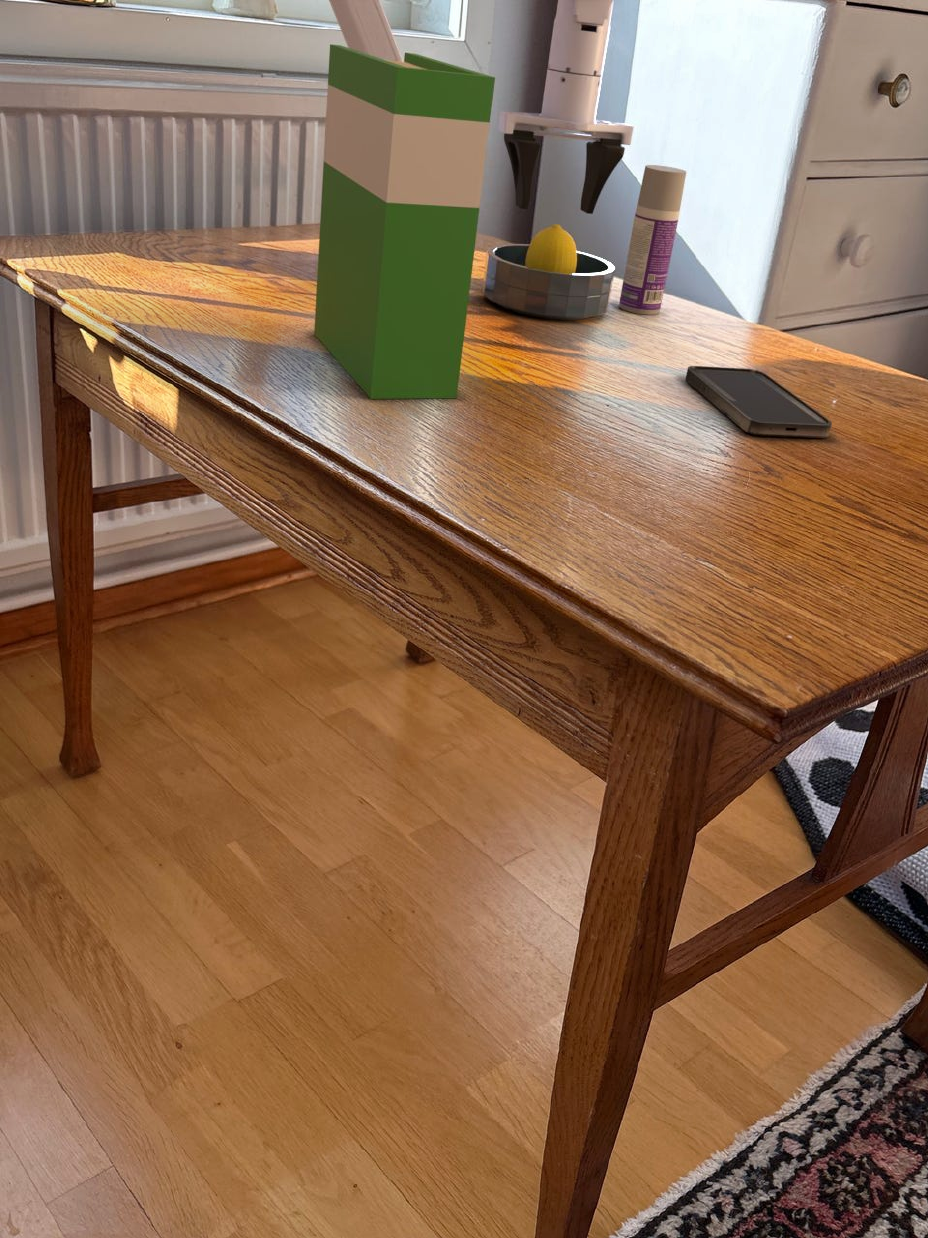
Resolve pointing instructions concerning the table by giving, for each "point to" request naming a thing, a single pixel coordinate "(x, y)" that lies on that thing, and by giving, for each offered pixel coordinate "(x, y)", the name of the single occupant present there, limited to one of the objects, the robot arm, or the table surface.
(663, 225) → the container
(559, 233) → the lemon
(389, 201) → the green cereal box
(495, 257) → the bowl
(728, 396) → the phone
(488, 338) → the table surface
